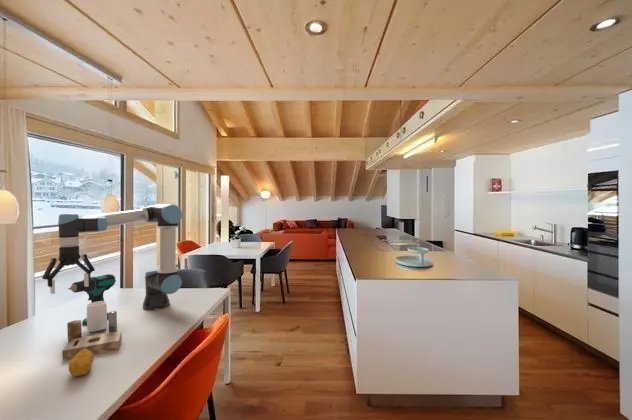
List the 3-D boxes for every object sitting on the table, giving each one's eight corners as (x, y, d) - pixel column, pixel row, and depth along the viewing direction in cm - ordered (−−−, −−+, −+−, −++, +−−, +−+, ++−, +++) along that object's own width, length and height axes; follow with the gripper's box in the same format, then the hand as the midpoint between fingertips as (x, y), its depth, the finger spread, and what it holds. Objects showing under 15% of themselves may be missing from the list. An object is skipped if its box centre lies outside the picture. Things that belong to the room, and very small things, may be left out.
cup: (111, 328, 160) (110, 301, 160) (95, 335, 152) (94, 307, 152) (99, 326, 163) (98, 300, 163) (83, 333, 155) (82, 305, 155)
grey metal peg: (117, 334, 153) (116, 310, 153) (116, 337, 150) (116, 312, 150) (109, 335, 152) (108, 311, 151) (108, 338, 149) (107, 314, 148)
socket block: (121, 338, 148) (121, 330, 148) (119, 349, 138) (118, 340, 138) (69, 348, 139) (69, 339, 139) (62, 360, 128) (62, 350, 128)
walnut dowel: (83, 339, 147) (82, 319, 147) (80, 344, 143) (80, 323, 143) (69, 342, 145) (68, 321, 145) (66, 346, 140) (65, 325, 140)
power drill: (77, 332, 156) (75, 283, 155) (62, 331, 157) (61, 283, 157) (119, 314, 181) (118, 272, 180) (106, 313, 183) (105, 271, 182)
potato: (64, 384, 111) (63, 365, 111) (75, 365, 124) (74, 348, 124) (88, 379, 114) (87, 360, 114) (96, 361, 127) (96, 344, 127)
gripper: (94, 242, 160) (95, 282, 160) (32, 248, 138) (33, 295, 139) (101, 243, 156) (102, 284, 156) (39, 249, 134) (40, 297, 135)
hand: (70, 289), depth 148 cm, fingers open, 13 cm apart
